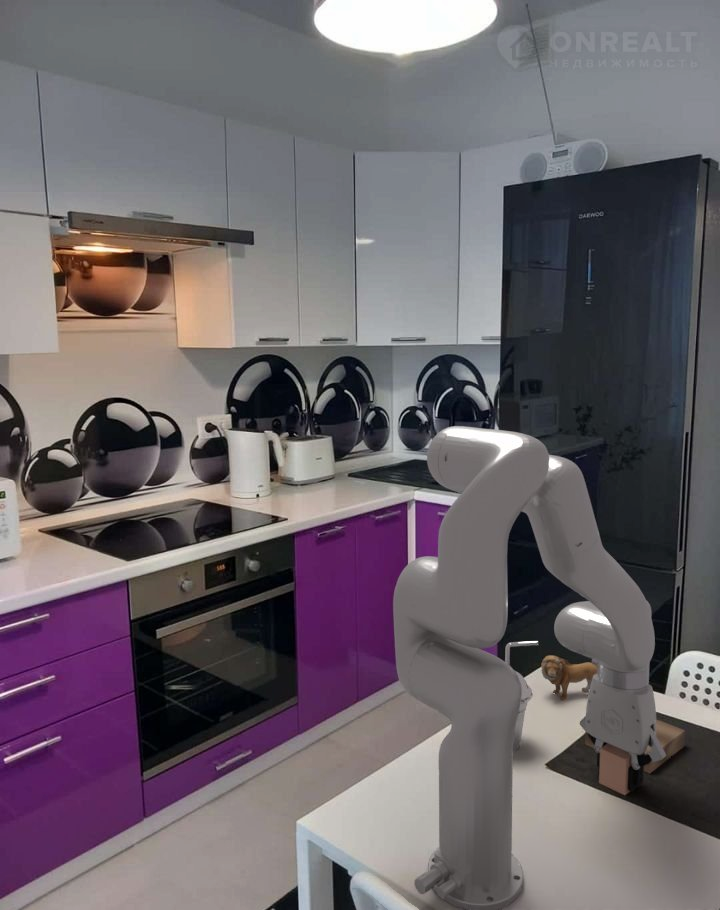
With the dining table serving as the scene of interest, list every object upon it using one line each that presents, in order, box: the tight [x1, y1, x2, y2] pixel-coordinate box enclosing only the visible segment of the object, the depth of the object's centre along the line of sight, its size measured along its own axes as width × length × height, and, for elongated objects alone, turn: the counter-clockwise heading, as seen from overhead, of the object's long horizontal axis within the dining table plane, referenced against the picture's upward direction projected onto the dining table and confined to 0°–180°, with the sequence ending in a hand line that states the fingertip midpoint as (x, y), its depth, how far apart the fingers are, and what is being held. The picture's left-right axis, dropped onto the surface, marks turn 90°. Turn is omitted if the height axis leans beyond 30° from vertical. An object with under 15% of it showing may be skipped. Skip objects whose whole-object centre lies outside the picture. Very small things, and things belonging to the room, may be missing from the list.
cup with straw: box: [504, 640, 540, 752], centre depth 129 cm, size 8×9×20 cm
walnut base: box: [584, 718, 686, 775], centre depth 129 cm, size 12×12×3 cm
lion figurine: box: [540, 654, 597, 701], centre depth 147 cm, size 15×5×9 cm, turn 102°
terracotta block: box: [598, 743, 631, 796], centre depth 118 cm, size 4×4×6 cm
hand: (619, 779), depth 119 cm, fingers closed on terracotta block, 4 cm apart
